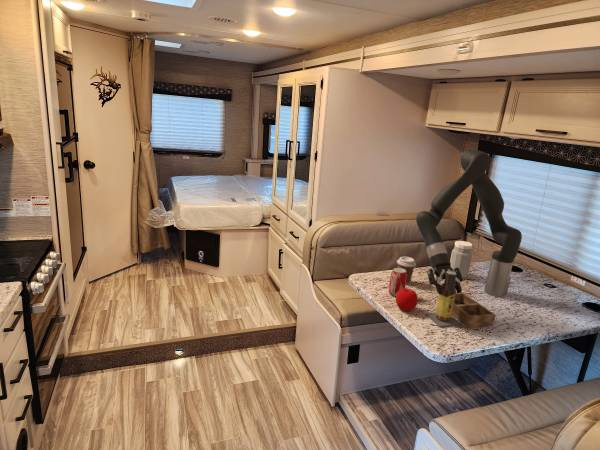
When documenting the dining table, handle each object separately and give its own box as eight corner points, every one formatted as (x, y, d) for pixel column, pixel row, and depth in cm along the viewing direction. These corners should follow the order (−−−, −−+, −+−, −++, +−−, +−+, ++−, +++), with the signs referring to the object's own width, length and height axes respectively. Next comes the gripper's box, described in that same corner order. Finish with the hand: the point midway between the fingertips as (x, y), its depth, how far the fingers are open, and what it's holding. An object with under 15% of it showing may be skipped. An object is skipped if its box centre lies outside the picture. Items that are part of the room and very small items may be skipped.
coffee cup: (403, 276, 200) (406, 254, 197) (416, 283, 193) (420, 261, 189) (390, 279, 196) (393, 256, 192) (403, 286, 188) (407, 263, 185)
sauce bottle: (448, 323, 156) (457, 277, 151) (432, 318, 159) (441, 273, 154) (452, 317, 162) (461, 272, 156) (436, 312, 165) (445, 268, 159)
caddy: (460, 302, 177) (462, 292, 175) (493, 326, 158) (495, 315, 157) (437, 304, 173) (439, 294, 172) (468, 328, 155) (470, 317, 153)
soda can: (404, 298, 176) (408, 274, 173) (388, 296, 177) (391, 271, 174) (403, 292, 183) (407, 268, 179) (388, 289, 184) (391, 265, 180)
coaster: (445, 312, 166) (446, 311, 166) (461, 325, 157) (461, 323, 157) (425, 314, 164) (425, 313, 163) (439, 327, 154) (440, 325, 154)
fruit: (398, 301, 173) (401, 280, 170) (418, 307, 169) (422, 286, 166) (391, 309, 166) (394, 287, 163) (412, 316, 161) (416, 294, 158)
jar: (444, 271, 211) (450, 239, 206) (461, 271, 212) (468, 240, 207) (453, 279, 201) (459, 246, 196) (470, 279, 203) (478, 246, 198)
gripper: (428, 252, 158) (440, 291, 150) (458, 251, 162) (471, 289, 154) (418, 260, 164) (430, 297, 157) (447, 258, 168) (460, 295, 161)
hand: (450, 293), depth 156 cm, fingers open, 8 cm apart
